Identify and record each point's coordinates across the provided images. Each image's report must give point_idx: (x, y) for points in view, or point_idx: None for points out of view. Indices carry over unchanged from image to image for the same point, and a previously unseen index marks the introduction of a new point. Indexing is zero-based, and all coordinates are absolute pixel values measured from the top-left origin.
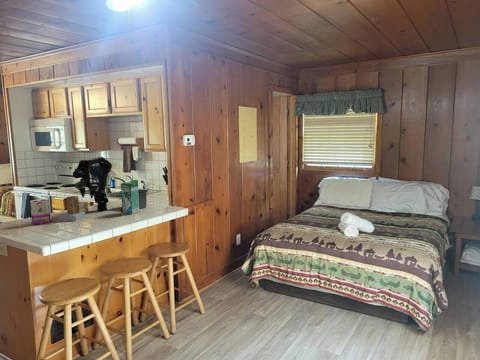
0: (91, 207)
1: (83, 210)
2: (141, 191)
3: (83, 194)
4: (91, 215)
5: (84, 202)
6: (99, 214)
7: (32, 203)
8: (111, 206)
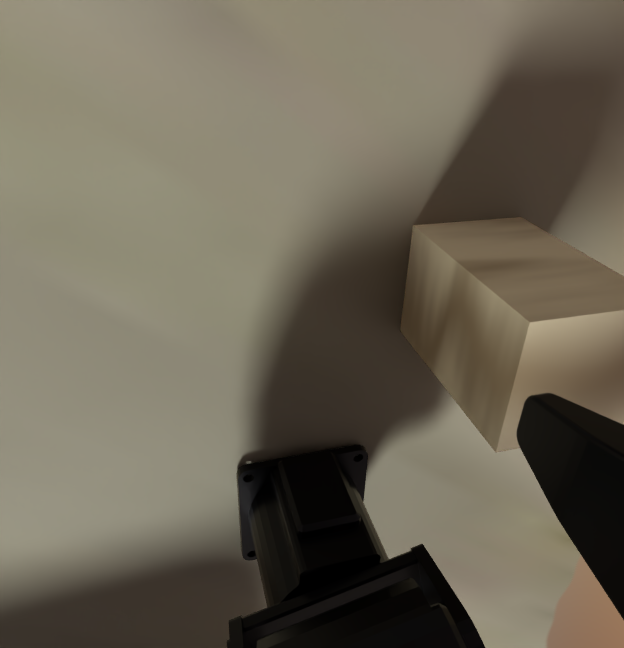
0: None
1: (435, 264)
2: None
3: (603, 518)
4: (87, 196)
5: None
6: (32, 331)
7: None
8: None
